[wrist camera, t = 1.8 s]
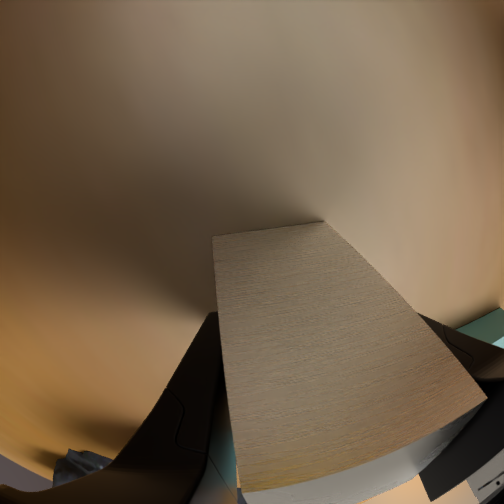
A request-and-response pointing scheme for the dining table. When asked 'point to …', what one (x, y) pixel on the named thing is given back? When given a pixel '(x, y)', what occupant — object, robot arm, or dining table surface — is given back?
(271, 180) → the dining table surface
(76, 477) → the dark slate chunk
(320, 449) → the square bit
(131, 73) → the dining table surface
